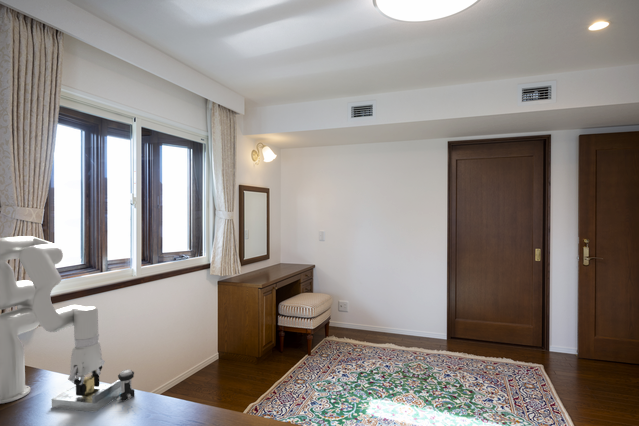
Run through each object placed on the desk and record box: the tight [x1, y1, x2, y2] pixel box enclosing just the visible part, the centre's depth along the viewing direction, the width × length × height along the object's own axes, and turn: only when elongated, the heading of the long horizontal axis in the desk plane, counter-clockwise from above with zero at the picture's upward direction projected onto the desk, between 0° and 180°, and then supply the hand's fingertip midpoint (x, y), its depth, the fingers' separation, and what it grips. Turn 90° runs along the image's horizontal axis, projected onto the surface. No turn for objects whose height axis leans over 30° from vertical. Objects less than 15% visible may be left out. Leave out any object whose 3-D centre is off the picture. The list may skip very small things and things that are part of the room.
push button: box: [116, 368, 136, 403], centre depth 138 cm, size 7×5×10 cm
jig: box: [51, 379, 121, 413], centre depth 138 cm, size 18×13×6 cm
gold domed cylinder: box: [83, 375, 95, 397], centre depth 138 cm, size 4×4×8 cm
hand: (88, 390), depth 138 cm, fingers open, 6 cm apart
